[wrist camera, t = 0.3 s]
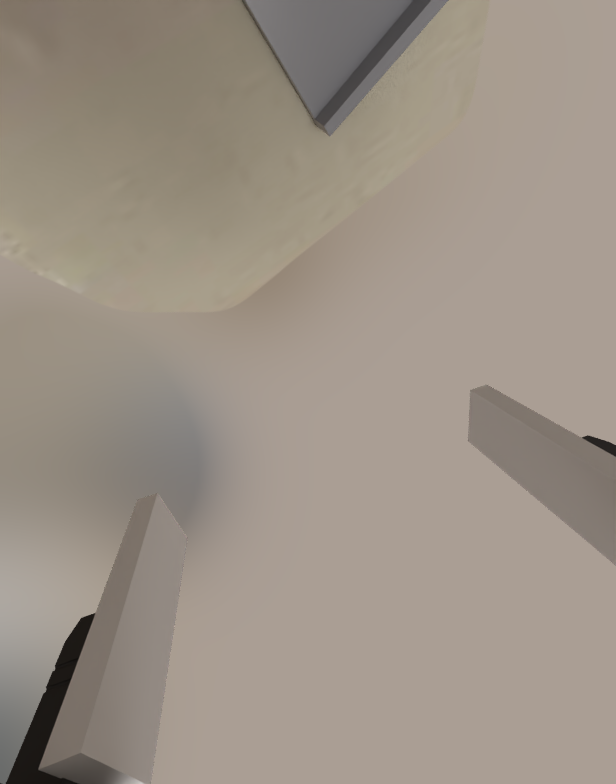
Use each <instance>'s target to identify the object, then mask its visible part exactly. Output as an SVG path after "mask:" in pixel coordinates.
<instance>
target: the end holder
mask: <svg viewBox="0 0 616 784" xmlns="http://www.w3.org/2000/svg"><path fill="white" fill-rule="evenodd" d="M447 1H448V0H243V2H244V4H245V5H246V7H247V9H248V11H249V12H250V14H251V16H252V17H253V19H254V21H255V22H256V24H257V26H258V27H259V29H260V31H261V33H262V34H263V36H264V38H265V39H266V41H267V43H268V44H269V46H270V48H271V49H272V51H273V53H274V54H275V56H276V58H277V60H278V61H279V63H280V65H281V66H282V68H283V70H284V71H285V73H286V75H287V76H288V78H289V80H290V81H291V83H292V85H293V87H294V88H295V90H296V92H297V93H298V95H299V97H300V98H301V100H302V102H303V103H304V105H305V107H306V109H307V110H308V112H309V114H310V115H311V117H312V119H313V120H314V122H315V124H316V125H317V127H319V128H320V129H321V130H322V131H324V132H325V133H326V134H328V135H329V136H331V135H332V133H333V132H334V131H335V130H336V129H337V128H338V127H339V125H340V124H341V123H342V122H343V121H344V120H345V118H346V117H347V116H348V115H349V114H350V113H351V112H352V110H353V109H354V108H355V107H356V106H357V105H358V104H359V102H360V101H361V100H362V99H363V98H364V97H365V96H366V94H367V93H368V92H369V91H370V90H371V89H372V87H373V86H374V85H375V84H376V83H377V82H378V81H379V79H380V78H381V77H382V76H383V75H384V74H385V73H386V71H387V70H388V69H389V68H390V67H391V66H392V64H393V63H394V62H395V61H396V60H397V59H398V58H399V56H400V55H401V54H402V53H403V52H404V51H405V50H406V48H407V47H408V46H409V45H410V44H411V43H412V42H413V40H414V39H415V38H416V37H417V36H418V35H419V33H420V32H421V31H422V30H423V29H424V28H425V27H426V25H427V24H428V23H429V22H430V21H431V20H432V19H433V17H434V16H435V15H436V14H437V13H438V12H439V10H440V9H441V8H442V7H443V6H444V5H445V4H446V2H447Z"/></svg>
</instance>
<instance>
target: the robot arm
mask: <svg viewBox="0 0 616 784" xmlns="http://www.w3.org/2000/svg"><path fill="white" fill-rule="evenodd" d="M468 433H469V434H468V441H469V442H470V443H471V444H472V445H473V446H475V447H476V448H477V449H478V450H479V451H480V452H482V453H483V454H484V455H485V456H486V457H488V458H489V459H490V460H491V461H493V462H494V463H495V464H496V465H497V466H498V467H499V468H501V469H502V470H503V471H504V472H506V473H507V474H508V475H509V476H510V477H511V478H513V479H514V480H515V481H516V482H517V483H518V484H520V485H521V486H522V487H523V488H524V489H526V490H527V491H528V492H529V493H530V494H531V495H533V496H534V497H535V498H536V499H537V500H539V501H540V502H541V503H542V504H543V505H545V506H546V507H547V508H548V509H549V510H550V511H552V512H553V513H554V514H555V515H556V516H558V517H559V518H560V519H561V520H562V521H564V522H565V523H566V524H567V525H568V526H569V527H571V528H572V529H573V530H574V531H575V532H577V533H578V534H579V535H580V536H581V537H583V538H584V539H585V540H586V541H587V542H589V543H590V544H591V545H592V546H593V547H594V548H596V549H597V550H598V551H599V552H600V553H601V554H603V555H604V556H605V557H606V558H607V559H609V560H610V561H611V562H612V563H613V564H614V565H616V445H614V444H612V443H610V442H607V441H604V440H601V439H598V438H594V437H591V436H585V437H582V438H581V437H579V436H577V435H576V434H574V433H572V432H570V431H568V430H567V429H565V428H563V427H561V426H560V425H557V424H556V423H554V422H552V421H551V420H549V419H547V418H545V417H543V416H542V415H540V414H538V413H536V412H535V411H533V410H531V409H529V408H527V407H526V406H524V405H522V404H520V403H518V402H517V401H515V400H513V399H511V398H510V397H508V396H506V395H504V394H502V393H501V392H499V391H497V390H495V389H494V388H492V387H490V386H488V385H485V386H481V387H478V388H475V389H473V390H471V391H470V410H469V432H468ZM186 545H187V536H186V535H185V533H184V532H183V530H182V529H181V527H180V526H179V524H178V523H177V521H176V520H175V518H174V517H173V515H172V514H171V512H170V511H169V509H168V508H167V506H166V505H165V504H164V502H163V500H162V499H161V497H160V496H159V494H158V493H156V494H153V495H150V496H147V497H144V498H141V499H138V500H137V502H136V505H135V507H134V510H133V513H132V516H131V518H130V521H129V524H128V526H127V529H126V532H125V535H124V537H123V540H122V543H121V545H120V548H119V551H118V554H117V556H116V559H115V562H114V564H113V567H112V570H111V573H110V575H109V578H108V581H107V584H106V587H105V589H104V592H103V594H102V597H101V600H100V603H99V605H98V608H97V611H96V613H94V614H91V615H88V616H86V617H83V618H81V619H80V621H79V622H78V624H77V625H76V627H75V628H74V630H73V631H72V633H71V634H70V635H69V637H68V638H67V640H66V641H65V643H64V646H63V648H62V651H61V653H60V655H59V658H58V660H57V662H56V665H55V671H53V672H52V675H51V677H50V679H49V682H48V684H47V686H46V688H47V690H46V692H45V693H44V694H43V696H42V699H41V701H40V703H39V706H38V708H37V710H36V713H35V715H34V718H33V720H32V722H31V725H30V727H29V730H28V732H27V734H26V737H25V739H24V742H23V744H22V746H21V749H20V751H19V754H18V756H17V758H16V761H15V763H14V766H13V768H12V770H11V773H10V775H9V778H8V780H7V782H6V784H151V778H152V772H153V765H154V758H155V751H156V745H157V738H158V731H159V725H160V718H161V711H162V705H163V698H164V692H165V685H166V678H167V672H168V665H169V658H170V652H171V645H172V638H173V631H174V625H175V618H176V612H177V604H178V598H179V592H180V585H181V578H182V571H183V565H184V558H185V551H186ZM0 784H1V783H0Z"/></svg>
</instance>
